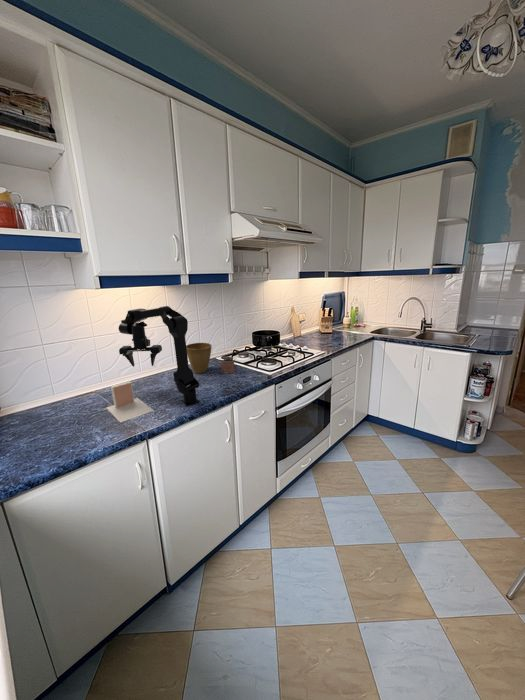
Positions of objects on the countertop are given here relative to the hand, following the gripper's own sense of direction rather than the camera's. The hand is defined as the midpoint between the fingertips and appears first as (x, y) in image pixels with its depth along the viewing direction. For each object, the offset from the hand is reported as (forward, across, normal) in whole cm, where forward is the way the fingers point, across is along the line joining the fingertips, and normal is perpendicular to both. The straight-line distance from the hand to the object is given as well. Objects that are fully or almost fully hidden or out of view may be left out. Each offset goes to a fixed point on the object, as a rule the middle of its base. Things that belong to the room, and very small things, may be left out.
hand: (143, 366), depth 143 cm
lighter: (+14, -40, -23) cm, 48 cm away
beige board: (+14, +1, +20) cm, 24 cm away
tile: (+13, +5, +15) cm, 21 cm away
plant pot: (+14, -23, -27) cm, 38 cm away
